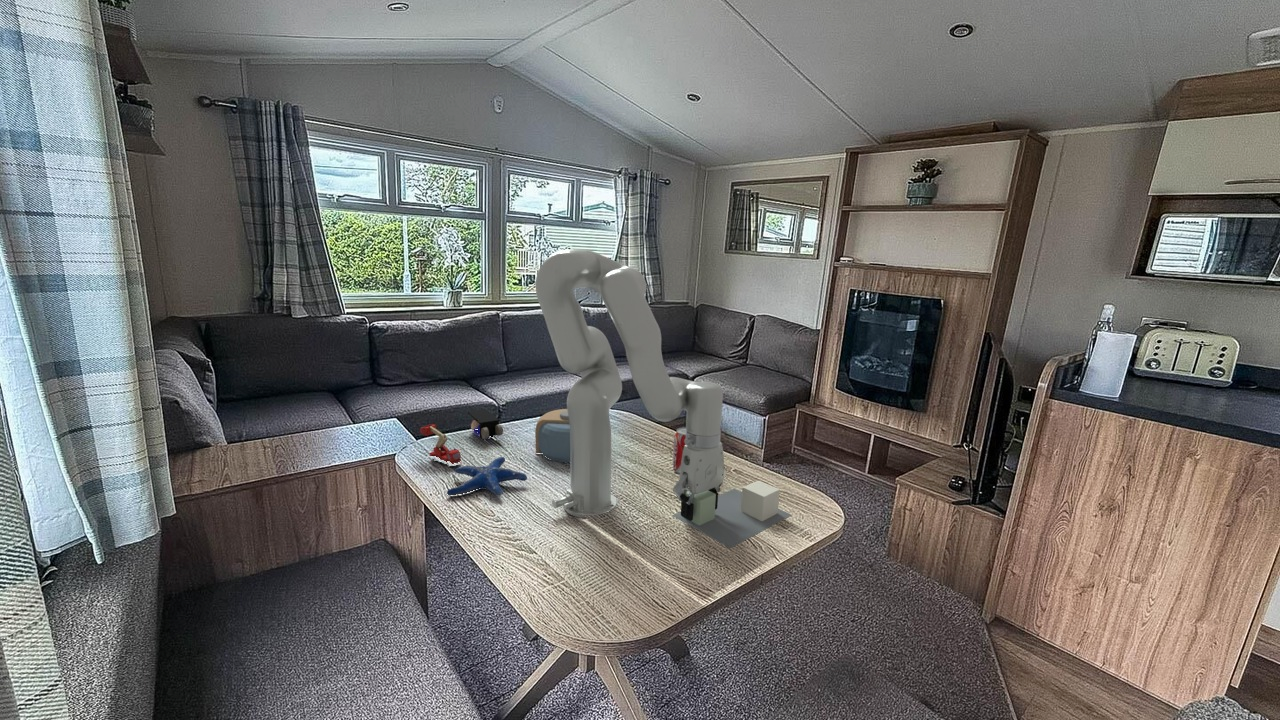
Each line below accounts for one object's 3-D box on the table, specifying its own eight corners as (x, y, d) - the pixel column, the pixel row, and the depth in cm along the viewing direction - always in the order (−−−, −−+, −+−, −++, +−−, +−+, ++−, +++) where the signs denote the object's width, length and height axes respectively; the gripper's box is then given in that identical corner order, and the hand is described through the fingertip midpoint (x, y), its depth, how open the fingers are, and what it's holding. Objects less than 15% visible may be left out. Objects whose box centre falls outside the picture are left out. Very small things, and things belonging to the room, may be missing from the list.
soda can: (689, 479, 140) (691, 437, 138) (667, 472, 144) (669, 431, 142) (702, 471, 146) (704, 430, 143) (681, 464, 150) (683, 424, 147)
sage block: (699, 525, 115) (700, 500, 114) (683, 516, 119) (684, 492, 117) (714, 518, 118) (715, 494, 117) (698, 510, 122) (699, 486, 121)
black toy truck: (504, 446, 164) (486, 427, 176) (505, 423, 162) (486, 406, 173) (483, 450, 160) (466, 431, 171) (484, 427, 158) (466, 409, 169)
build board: (729, 552, 107) (732, 521, 105) (672, 519, 119) (673, 490, 118) (791, 518, 121) (794, 490, 119) (734, 492, 133) (735, 466, 132)
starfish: (431, 486, 133) (430, 468, 132) (496, 466, 146) (495, 449, 145) (468, 513, 120) (467, 493, 119) (535, 488, 133) (535, 470, 132)
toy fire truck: (453, 469, 143) (451, 435, 141) (421, 457, 150) (419, 425, 148) (463, 465, 146) (461, 432, 144) (431, 454, 153) (429, 422, 151)
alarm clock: (567, 435, 171) (567, 399, 169) (615, 449, 160) (616, 412, 157) (523, 452, 156) (522, 413, 153) (572, 470, 144) (572, 428, 142)
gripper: (687, 452, 106) (683, 532, 110) (741, 434, 117) (736, 507, 121) (662, 442, 112) (659, 518, 115) (716, 425, 123) (712, 495, 126)
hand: (699, 512), depth 118 cm, fingers open, 7 cm apart
